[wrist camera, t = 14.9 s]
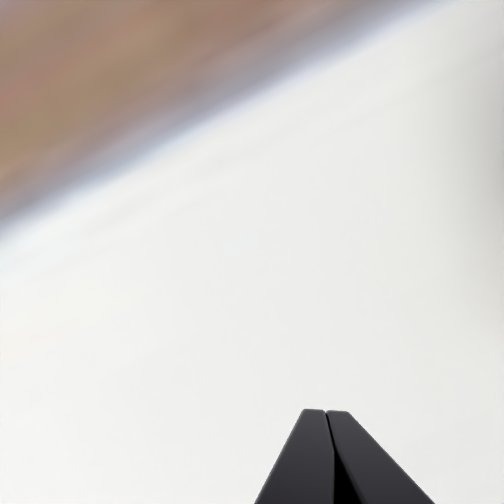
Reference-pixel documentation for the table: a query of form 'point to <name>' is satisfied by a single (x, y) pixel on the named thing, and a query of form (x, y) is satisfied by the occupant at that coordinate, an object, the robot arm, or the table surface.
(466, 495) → the table surface
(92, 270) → the table surface
